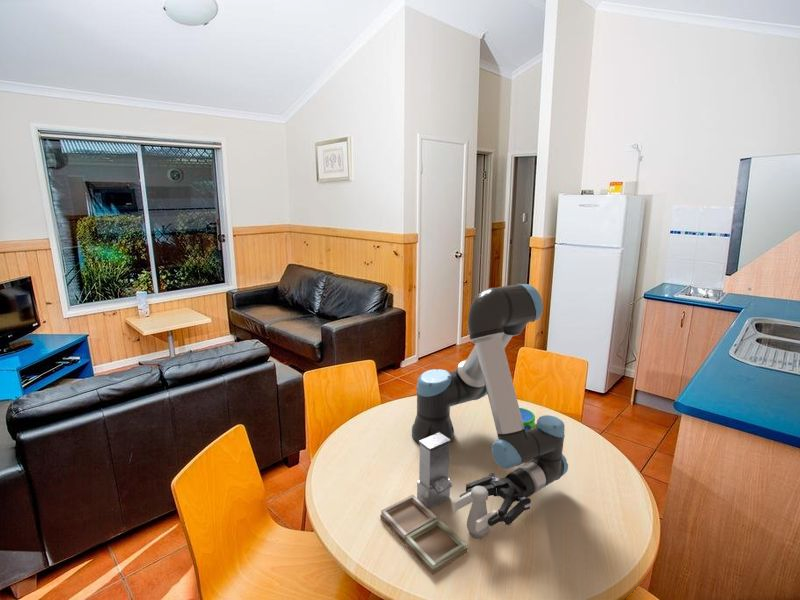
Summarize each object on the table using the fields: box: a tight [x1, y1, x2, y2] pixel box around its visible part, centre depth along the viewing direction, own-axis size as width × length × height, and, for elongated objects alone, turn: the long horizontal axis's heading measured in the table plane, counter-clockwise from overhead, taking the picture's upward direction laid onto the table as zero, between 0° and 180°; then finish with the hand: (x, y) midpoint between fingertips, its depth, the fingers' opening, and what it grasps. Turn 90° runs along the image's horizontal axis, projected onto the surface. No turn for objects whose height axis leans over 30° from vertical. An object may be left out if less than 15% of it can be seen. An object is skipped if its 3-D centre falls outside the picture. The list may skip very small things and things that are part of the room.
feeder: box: [416, 432, 453, 510], centre depth 122 cm, size 8×8×19 cm
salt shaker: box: [466, 486, 490, 540], centre depth 112 cm, size 6×6×13 cm
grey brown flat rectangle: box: [380, 494, 469, 575], centre depth 113 cm, size 22×11×2 cm, turn 36°
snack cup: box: [519, 407, 537, 431], centre depth 153 cm, size 16×10×10 cm
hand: (464, 516), depth 109 cm, fingers open, 8 cm apart
